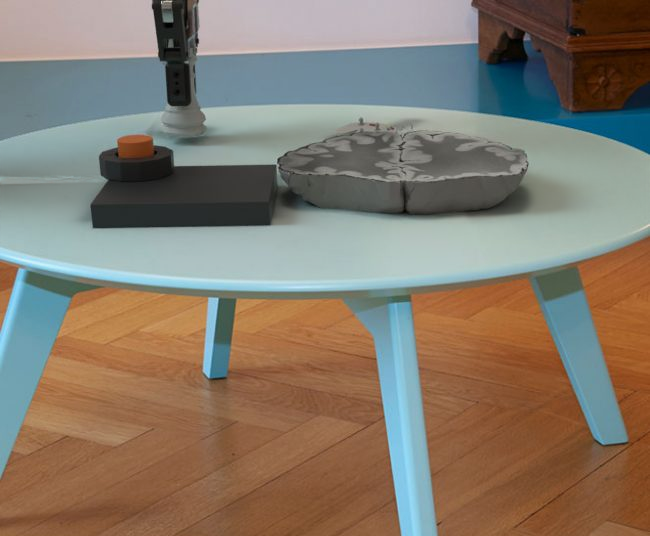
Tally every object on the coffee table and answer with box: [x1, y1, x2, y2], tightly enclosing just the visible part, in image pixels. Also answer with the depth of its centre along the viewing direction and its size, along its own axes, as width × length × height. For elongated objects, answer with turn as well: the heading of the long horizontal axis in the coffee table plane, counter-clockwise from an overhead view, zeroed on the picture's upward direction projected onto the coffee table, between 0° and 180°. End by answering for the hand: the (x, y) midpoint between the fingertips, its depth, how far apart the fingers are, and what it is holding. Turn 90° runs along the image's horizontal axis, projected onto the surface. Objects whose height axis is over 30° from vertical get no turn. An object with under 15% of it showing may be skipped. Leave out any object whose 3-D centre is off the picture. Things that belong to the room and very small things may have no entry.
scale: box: [89, 144, 278, 229], centre depth 88 cm, size 14×12×4 cm
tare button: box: [116, 134, 154, 158], centre depth 90 cm, size 3×3×2 cm
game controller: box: [335, 116, 413, 136], centre depth 107 cm, size 6×12×3 cm, turn 167°
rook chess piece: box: [160, 48, 208, 139], centre depth 108 cm, size 4×4×8 cm
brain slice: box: [276, 129, 530, 215], centre depth 91 cm, size 20×17×3 cm
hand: (182, 100), depth 108 cm, fingers closed on rook chess piece, 3 cm apart
